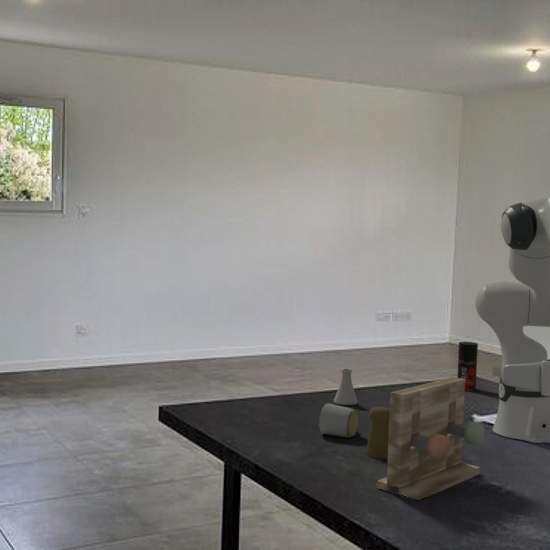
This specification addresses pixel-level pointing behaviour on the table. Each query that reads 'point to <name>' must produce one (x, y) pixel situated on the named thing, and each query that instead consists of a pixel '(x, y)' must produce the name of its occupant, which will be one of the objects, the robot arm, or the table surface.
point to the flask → (346, 390)
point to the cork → (378, 433)
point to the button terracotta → (432, 444)
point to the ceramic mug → (338, 421)
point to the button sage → (468, 432)
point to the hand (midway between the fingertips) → (508, 369)
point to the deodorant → (468, 364)
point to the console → (426, 421)
